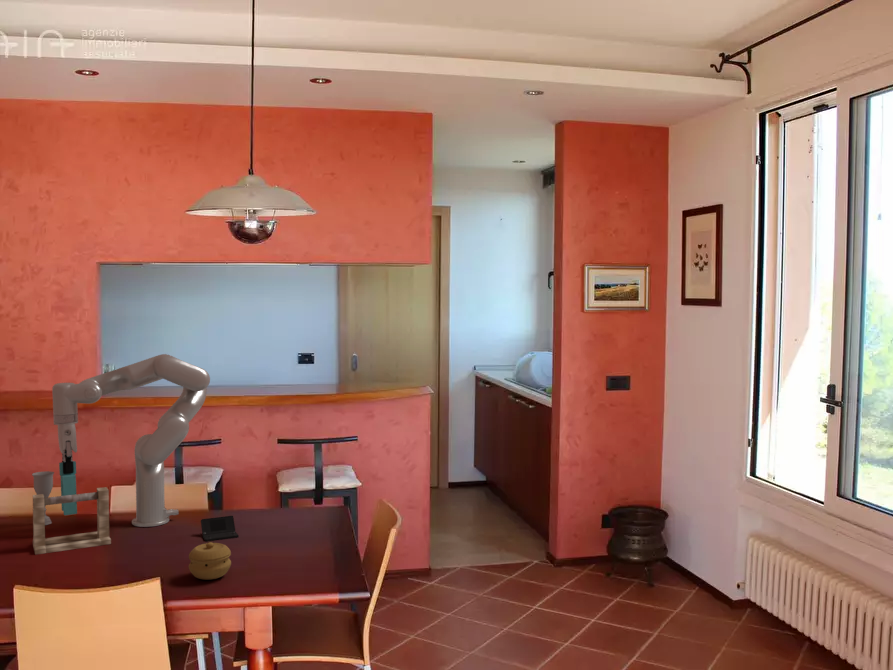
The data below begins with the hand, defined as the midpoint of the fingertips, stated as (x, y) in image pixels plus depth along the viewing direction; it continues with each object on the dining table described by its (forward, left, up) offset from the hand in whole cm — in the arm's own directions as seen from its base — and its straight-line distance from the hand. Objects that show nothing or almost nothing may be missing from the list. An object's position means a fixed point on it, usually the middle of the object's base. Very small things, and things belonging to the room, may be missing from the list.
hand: (67, 472), depth 272 cm
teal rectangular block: (0, 0, -14) cm, 14 cm away
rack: (0, +15, -21) cm, 26 cm away
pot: (-31, +69, -21) cm, 78 cm away
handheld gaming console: (-44, +30, -21) cm, 57 cm away
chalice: (+6, -17, -21) cm, 28 cm away
